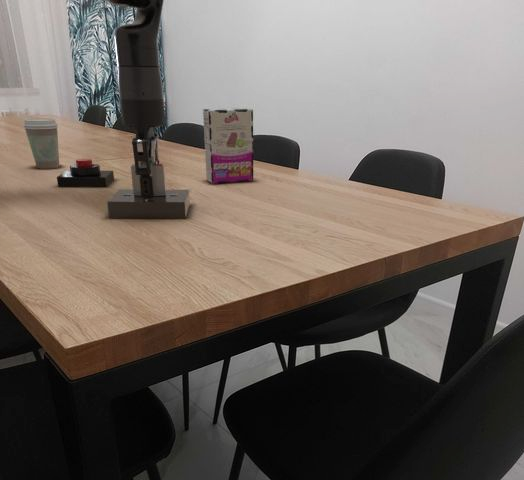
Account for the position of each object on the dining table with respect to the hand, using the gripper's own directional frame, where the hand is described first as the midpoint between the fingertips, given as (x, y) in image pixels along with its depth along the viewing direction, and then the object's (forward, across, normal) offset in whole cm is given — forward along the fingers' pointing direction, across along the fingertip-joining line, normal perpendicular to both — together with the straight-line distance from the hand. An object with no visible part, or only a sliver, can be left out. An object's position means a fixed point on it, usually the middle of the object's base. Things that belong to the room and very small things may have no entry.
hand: (150, 193), depth 96 cm
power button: (0, +27, +19) cm, 33 cm away
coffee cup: (+3, +49, +35) cm, 60 cm away
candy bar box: (+3, +31, -15) cm, 35 cm away
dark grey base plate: (+3, 0, 0) cm, 3 cm away
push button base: (+3, +27, +19) cm, 33 cm away
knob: (0, 0, 0) cm, 0 cm away
